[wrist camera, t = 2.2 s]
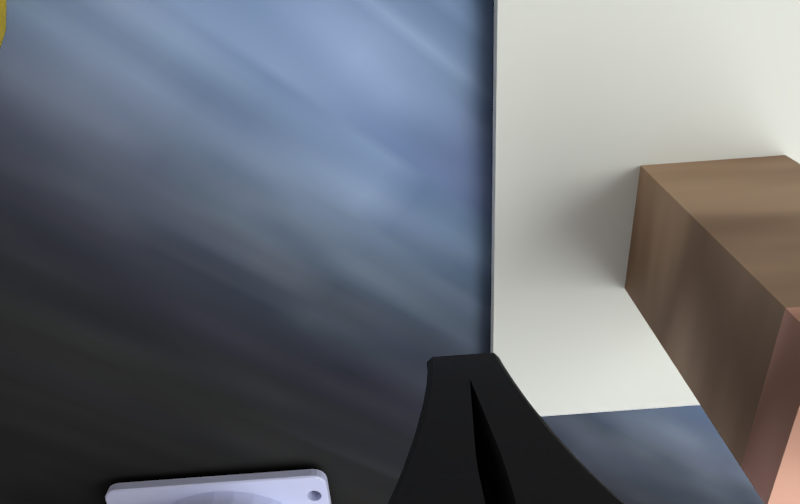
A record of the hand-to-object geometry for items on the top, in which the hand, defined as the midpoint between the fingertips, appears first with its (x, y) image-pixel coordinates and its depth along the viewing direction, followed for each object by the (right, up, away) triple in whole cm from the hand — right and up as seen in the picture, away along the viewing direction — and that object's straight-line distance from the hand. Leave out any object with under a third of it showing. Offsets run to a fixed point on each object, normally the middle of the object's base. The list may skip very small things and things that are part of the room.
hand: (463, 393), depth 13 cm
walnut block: (+7, +4, +6) cm, 10 cm away
